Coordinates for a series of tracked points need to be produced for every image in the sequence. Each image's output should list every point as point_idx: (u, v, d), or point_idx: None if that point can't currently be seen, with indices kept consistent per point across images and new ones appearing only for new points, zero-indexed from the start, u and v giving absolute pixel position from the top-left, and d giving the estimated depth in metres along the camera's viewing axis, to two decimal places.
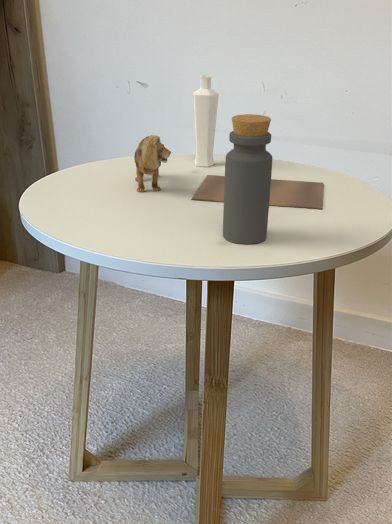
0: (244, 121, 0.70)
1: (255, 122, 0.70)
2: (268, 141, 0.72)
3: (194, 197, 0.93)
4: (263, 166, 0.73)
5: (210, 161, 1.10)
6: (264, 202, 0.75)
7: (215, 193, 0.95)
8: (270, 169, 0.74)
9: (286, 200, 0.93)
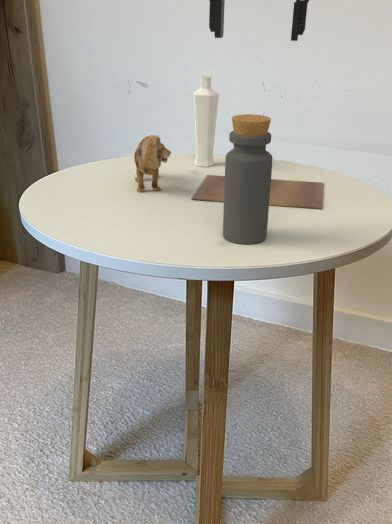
0: (244, 121, 0.70)
1: (255, 122, 0.70)
2: (268, 141, 0.72)
3: (194, 197, 0.93)
4: (263, 166, 0.73)
5: (210, 161, 1.10)
6: (264, 202, 0.75)
7: (215, 193, 0.95)
8: (270, 169, 0.74)
9: (286, 200, 0.93)
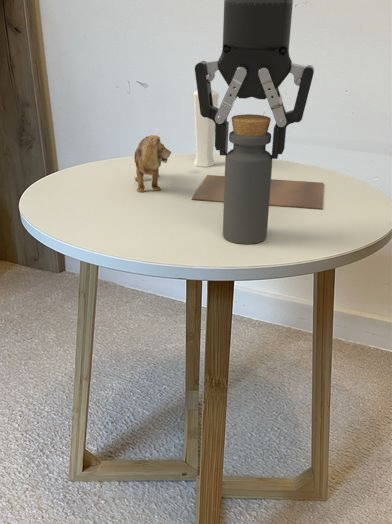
0: (244, 121, 0.70)
1: (255, 122, 0.70)
2: (268, 141, 0.72)
3: (194, 197, 0.93)
4: (263, 166, 0.73)
5: (210, 161, 1.10)
6: (264, 202, 0.75)
7: (215, 193, 0.95)
8: (270, 169, 0.74)
9: (286, 200, 0.93)
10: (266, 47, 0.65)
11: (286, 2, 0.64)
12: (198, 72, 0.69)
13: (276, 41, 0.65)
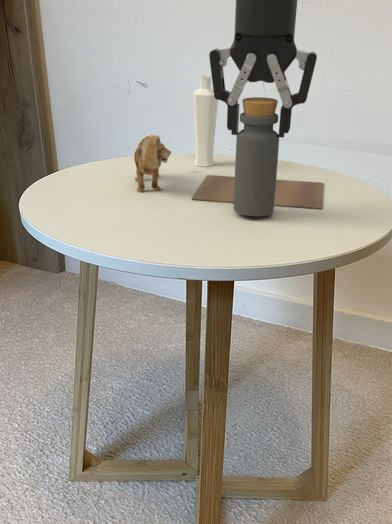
0: (254, 102, 0.78)
1: (264, 103, 0.77)
2: (275, 121, 0.79)
3: (194, 197, 0.93)
4: (271, 144, 0.80)
5: (210, 161, 1.10)
6: (272, 178, 0.83)
7: (215, 193, 0.95)
8: (277, 147, 0.81)
9: (286, 200, 0.93)
10: (274, 35, 0.72)
11: None
12: (212, 58, 0.77)
13: (283, 29, 0.72)
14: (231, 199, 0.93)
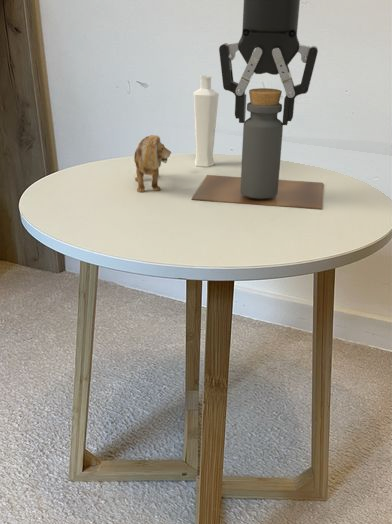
0: (260, 93, 0.85)
1: (269, 93, 0.85)
2: (279, 110, 0.86)
3: (194, 197, 0.93)
4: (275, 131, 0.87)
5: (210, 161, 1.10)
6: (276, 163, 0.90)
7: (215, 193, 0.95)
8: (281, 134, 0.88)
9: (286, 200, 0.93)
10: (279, 30, 0.79)
11: None
12: (222, 52, 0.84)
13: (287, 25, 0.79)
14: (231, 199, 0.93)
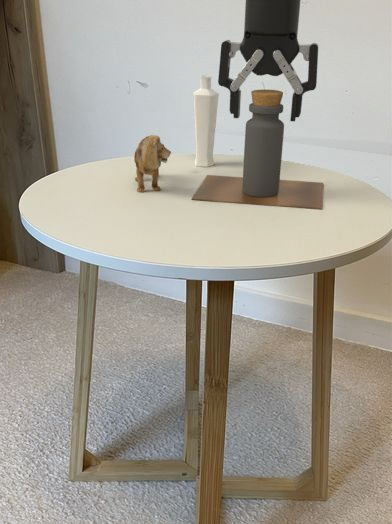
0: (262, 94, 0.87)
1: (270, 94, 0.87)
2: (281, 111, 0.89)
3: (194, 197, 0.93)
4: (276, 131, 0.89)
5: (210, 161, 1.10)
6: (277, 162, 0.92)
7: (215, 193, 0.95)
8: (282, 134, 0.91)
9: (286, 200, 0.93)
10: (279, 33, 0.82)
11: None
12: (223, 48, 0.86)
13: (287, 28, 0.82)
14: (231, 199, 0.93)
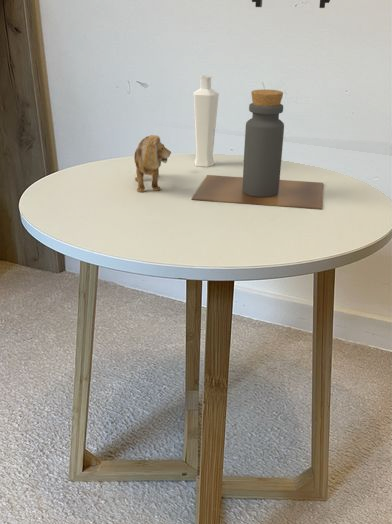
0: (262, 94, 0.87)
1: (270, 94, 0.87)
2: (281, 111, 0.89)
3: (194, 197, 0.93)
4: (276, 131, 0.89)
5: (210, 161, 1.10)
6: (277, 162, 0.92)
7: (215, 193, 0.95)
8: (282, 134, 0.91)
9: (286, 200, 0.93)
10: None
11: None
12: None
13: None
14: (231, 199, 0.93)
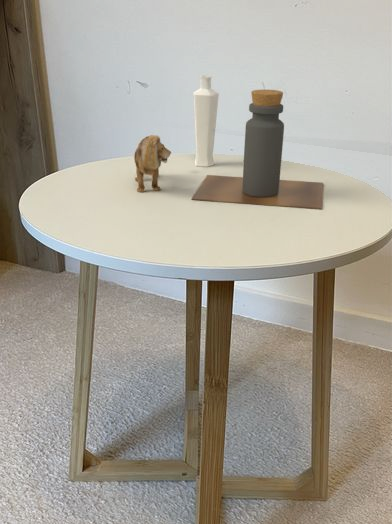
0: (262, 94, 0.87)
1: (270, 94, 0.87)
2: (281, 111, 0.89)
3: (194, 197, 0.93)
4: (276, 131, 0.89)
5: (210, 161, 1.10)
6: (277, 162, 0.92)
7: (215, 193, 0.95)
8: (282, 134, 0.91)
9: (286, 200, 0.93)
10: None
11: None
12: None
13: None
14: (231, 199, 0.93)
